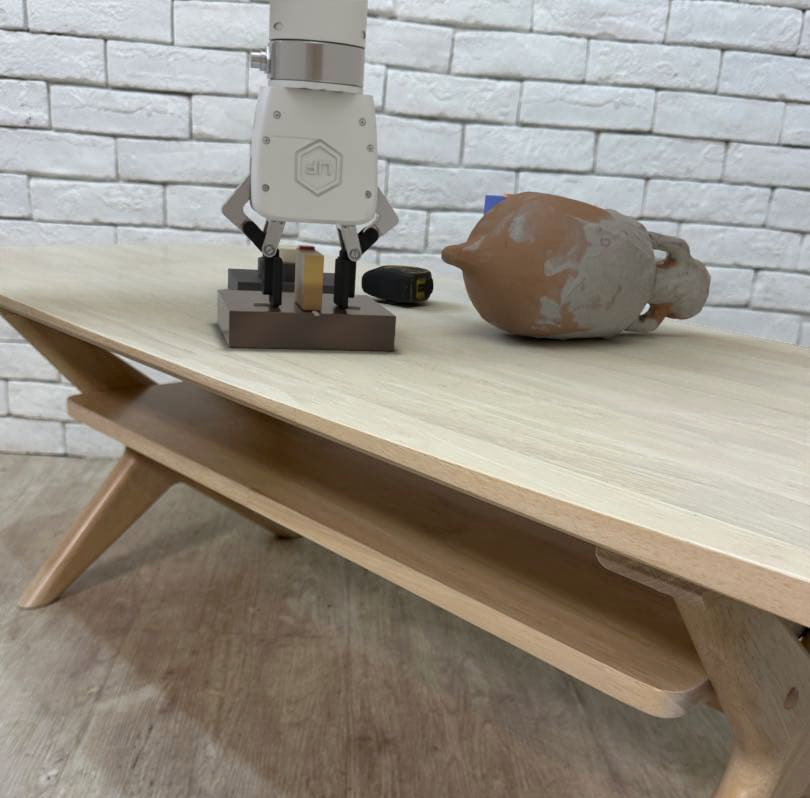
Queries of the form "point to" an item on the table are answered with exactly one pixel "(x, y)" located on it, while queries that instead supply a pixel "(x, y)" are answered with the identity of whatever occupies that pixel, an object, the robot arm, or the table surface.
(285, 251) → the bell button
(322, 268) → the gold rectangular block
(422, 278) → the tape measure
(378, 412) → the table surface
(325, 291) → the dark grey stepped block
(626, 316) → the amphora
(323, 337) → the plate
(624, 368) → the table surface
